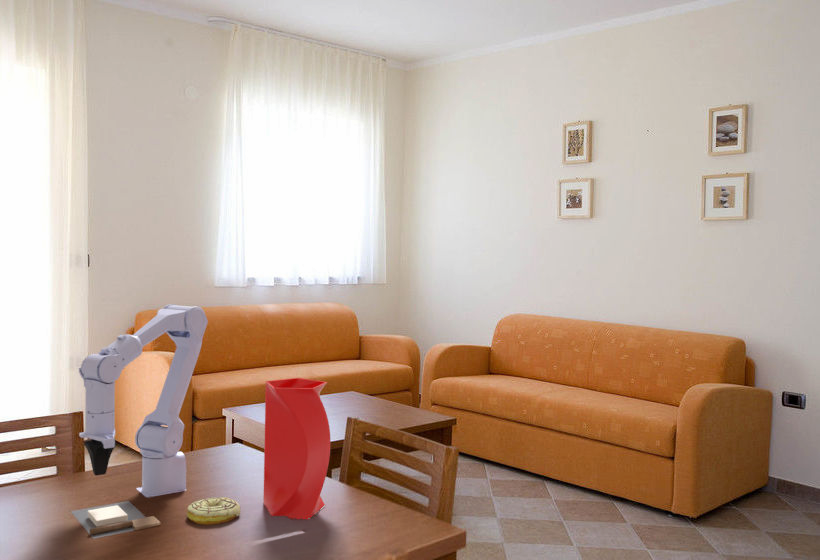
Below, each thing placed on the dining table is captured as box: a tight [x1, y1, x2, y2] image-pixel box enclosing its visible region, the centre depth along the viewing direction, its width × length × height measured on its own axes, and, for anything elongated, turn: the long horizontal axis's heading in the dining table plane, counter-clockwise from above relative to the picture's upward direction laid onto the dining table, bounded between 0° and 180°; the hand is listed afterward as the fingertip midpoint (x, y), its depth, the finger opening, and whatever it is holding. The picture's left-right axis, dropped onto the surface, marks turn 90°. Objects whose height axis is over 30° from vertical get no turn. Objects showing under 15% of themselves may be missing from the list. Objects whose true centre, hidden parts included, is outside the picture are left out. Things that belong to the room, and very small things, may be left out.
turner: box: [88, 515, 161, 536], centre depth 148 cm, size 13×4×1 cm, turn 128°
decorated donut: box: [186, 496, 241, 526], centre depth 156 cm, size 10×11×4 cm
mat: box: [70, 500, 155, 540], centre depth 153 cm, size 12×18×1 cm, turn 38°
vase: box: [262, 377, 331, 520], centre depth 162 cm, size 15×14×28 cm
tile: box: [88, 505, 128, 527], centre depth 152 cm, size 6×2×7 cm
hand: (99, 474), depth 157 cm, fingers closed
